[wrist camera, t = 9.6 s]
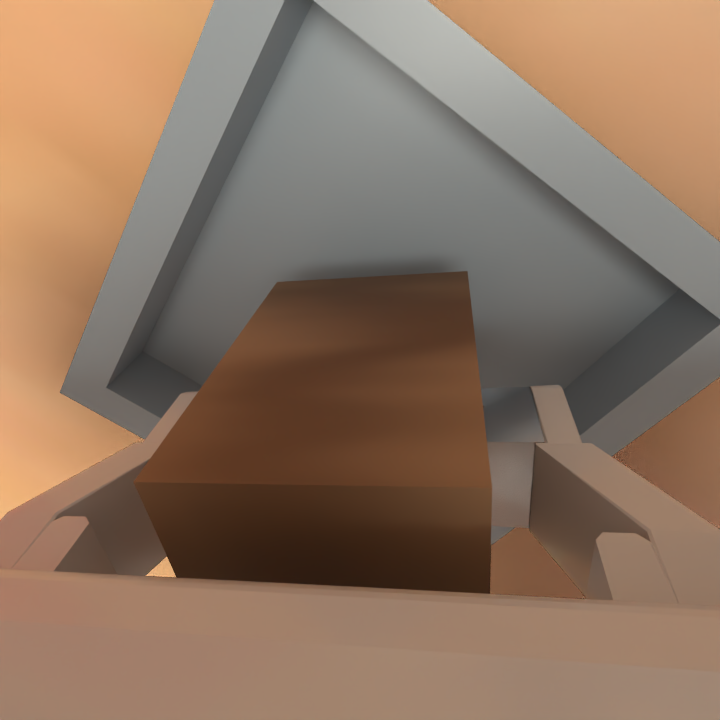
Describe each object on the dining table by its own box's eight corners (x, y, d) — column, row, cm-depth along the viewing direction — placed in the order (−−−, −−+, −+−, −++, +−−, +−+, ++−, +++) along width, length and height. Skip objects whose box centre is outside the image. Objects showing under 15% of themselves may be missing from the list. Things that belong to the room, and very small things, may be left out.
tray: (741, 266, 12) (806, 313, 10) (426, 529, 18) (425, 593, 16) (305, -93, 10) (266, -133, 8) (111, 346, 16) (59, 392, 13)
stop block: (467, 270, 10) (491, 488, 5) (468, 428, 12) (487, 696, 7) (276, 281, 11) (132, 481, 6) (307, 429, 13) (220, 674, 8)
